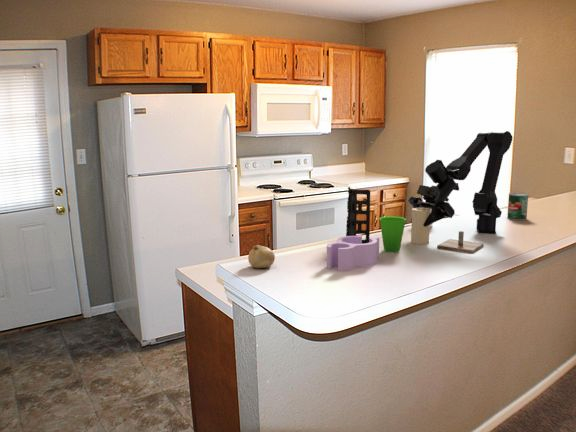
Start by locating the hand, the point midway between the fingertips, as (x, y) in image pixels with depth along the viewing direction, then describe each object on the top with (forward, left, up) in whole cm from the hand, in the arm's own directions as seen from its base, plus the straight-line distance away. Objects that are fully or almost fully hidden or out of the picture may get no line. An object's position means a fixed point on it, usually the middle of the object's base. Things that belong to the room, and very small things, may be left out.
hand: (417, 224), depth 183 cm
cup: (+8, +15, -7) cm, 18 cm away
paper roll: (-1, -1, -7) cm, 7 cm away
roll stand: (-15, +4, -7) cm, 17 cm away
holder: (+21, +8, -7) cm, 23 cm away
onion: (+44, +45, -7) cm, 63 cm away
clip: (+18, +33, -7) cm, 38 cm away
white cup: (-1, -30, -7) cm, 31 cm away
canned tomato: (-40, -57, -7) cm, 70 cm away
